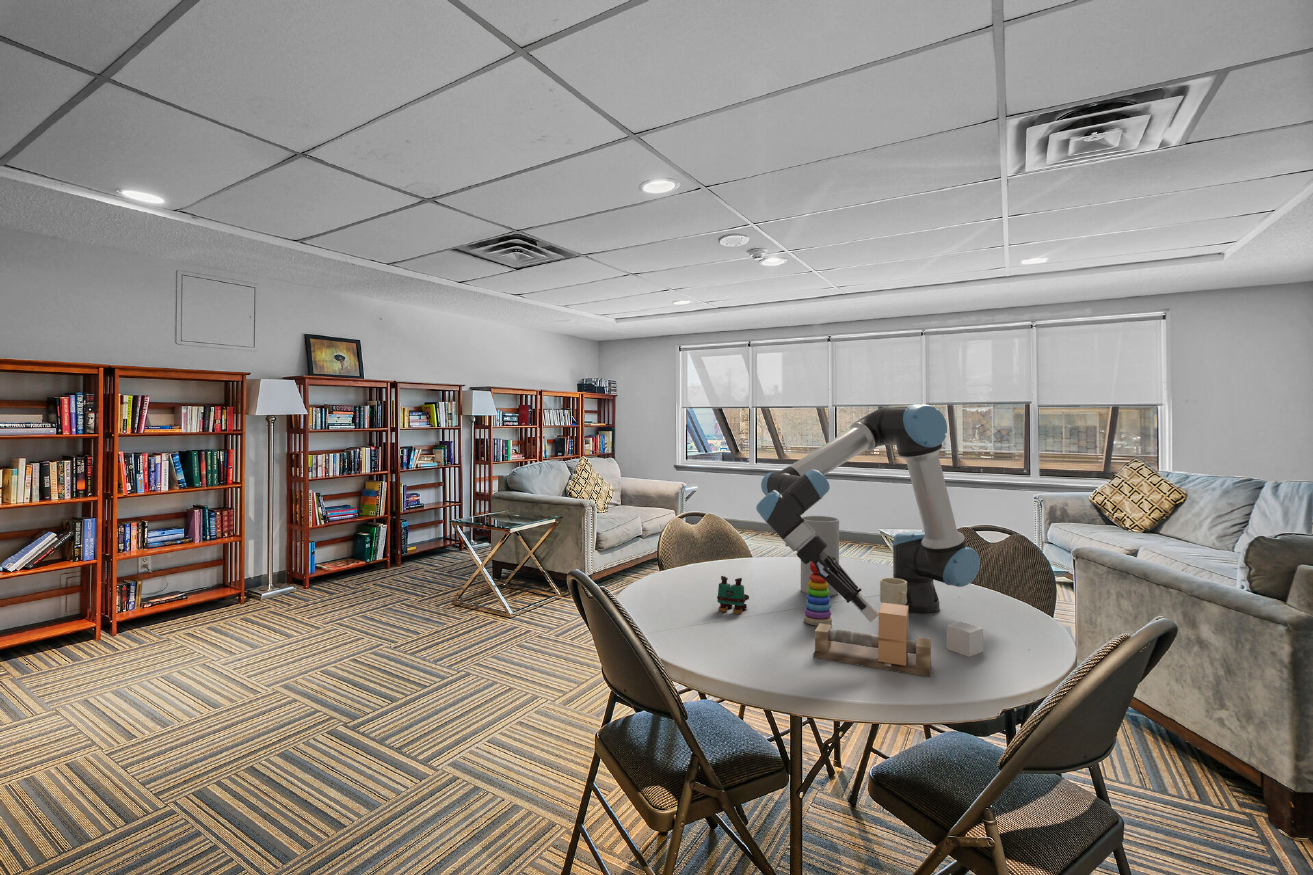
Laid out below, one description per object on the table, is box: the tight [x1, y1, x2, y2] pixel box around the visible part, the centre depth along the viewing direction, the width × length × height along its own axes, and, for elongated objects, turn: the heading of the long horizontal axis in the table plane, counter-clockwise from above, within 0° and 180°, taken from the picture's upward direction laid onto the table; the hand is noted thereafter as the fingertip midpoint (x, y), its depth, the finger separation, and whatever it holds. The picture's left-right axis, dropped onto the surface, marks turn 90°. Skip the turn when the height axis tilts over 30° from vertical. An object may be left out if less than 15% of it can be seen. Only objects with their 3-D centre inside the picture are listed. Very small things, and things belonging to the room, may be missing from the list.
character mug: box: [879, 577, 907, 605], centre depth 167 cm, size 11×7×13 cm, turn 11°
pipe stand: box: [812, 623, 932, 678], centre depth 144 cm, size 26×10×6 cm, turn 64°
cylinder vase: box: [800, 515, 840, 597], centre depth 201 cm, size 12×12×25 cm
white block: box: [946, 621, 984, 657], centre depth 150 cm, size 6×6×6 cm
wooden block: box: [877, 603, 909, 666], centre depth 142 cm, size 6×8×12 cm
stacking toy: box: [803, 561, 833, 627], centre depth 171 cm, size 8×8×19 cm
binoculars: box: [716, 575, 750, 615], centre depth 183 cm, size 9×11×10 cm
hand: (874, 617), depth 144 cm, fingers closed
